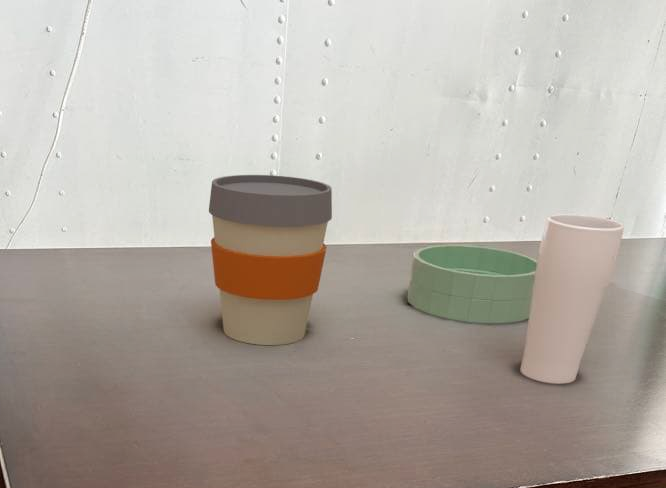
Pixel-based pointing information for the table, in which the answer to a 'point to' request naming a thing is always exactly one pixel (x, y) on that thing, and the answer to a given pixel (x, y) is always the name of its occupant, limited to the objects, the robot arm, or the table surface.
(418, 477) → the table surface
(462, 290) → the green plastic ring
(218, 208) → the reusable coffee cup
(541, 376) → the drinking glass
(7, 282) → the table surface
